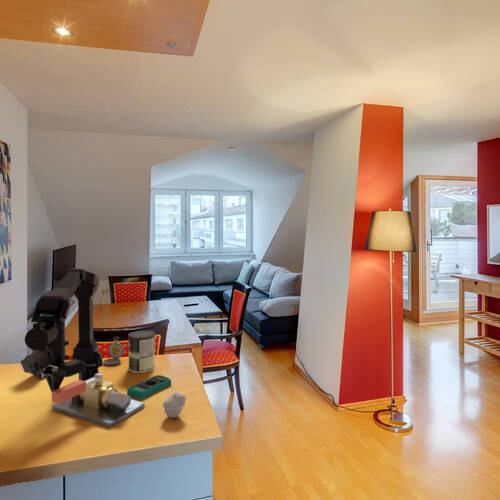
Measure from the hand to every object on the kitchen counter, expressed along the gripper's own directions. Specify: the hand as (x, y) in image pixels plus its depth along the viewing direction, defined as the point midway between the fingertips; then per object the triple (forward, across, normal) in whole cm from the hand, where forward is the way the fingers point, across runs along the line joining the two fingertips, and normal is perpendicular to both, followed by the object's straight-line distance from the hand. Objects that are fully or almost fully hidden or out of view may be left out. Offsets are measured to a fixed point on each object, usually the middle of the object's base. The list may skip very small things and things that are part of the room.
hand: (54, 393), depth 106 cm
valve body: (+9, +4, +12) cm, 15 cm away
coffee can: (+9, -7, +44) cm, 46 cm away
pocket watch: (+9, -22, +44) cm, 50 cm away
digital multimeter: (+9, +9, +30) cm, 33 cm away
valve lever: (+1, +4, +5) cm, 7 cm away
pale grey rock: (+9, +28, +18) cm, 35 cm away
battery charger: (+9, -35, +21) cm, 42 cm away
